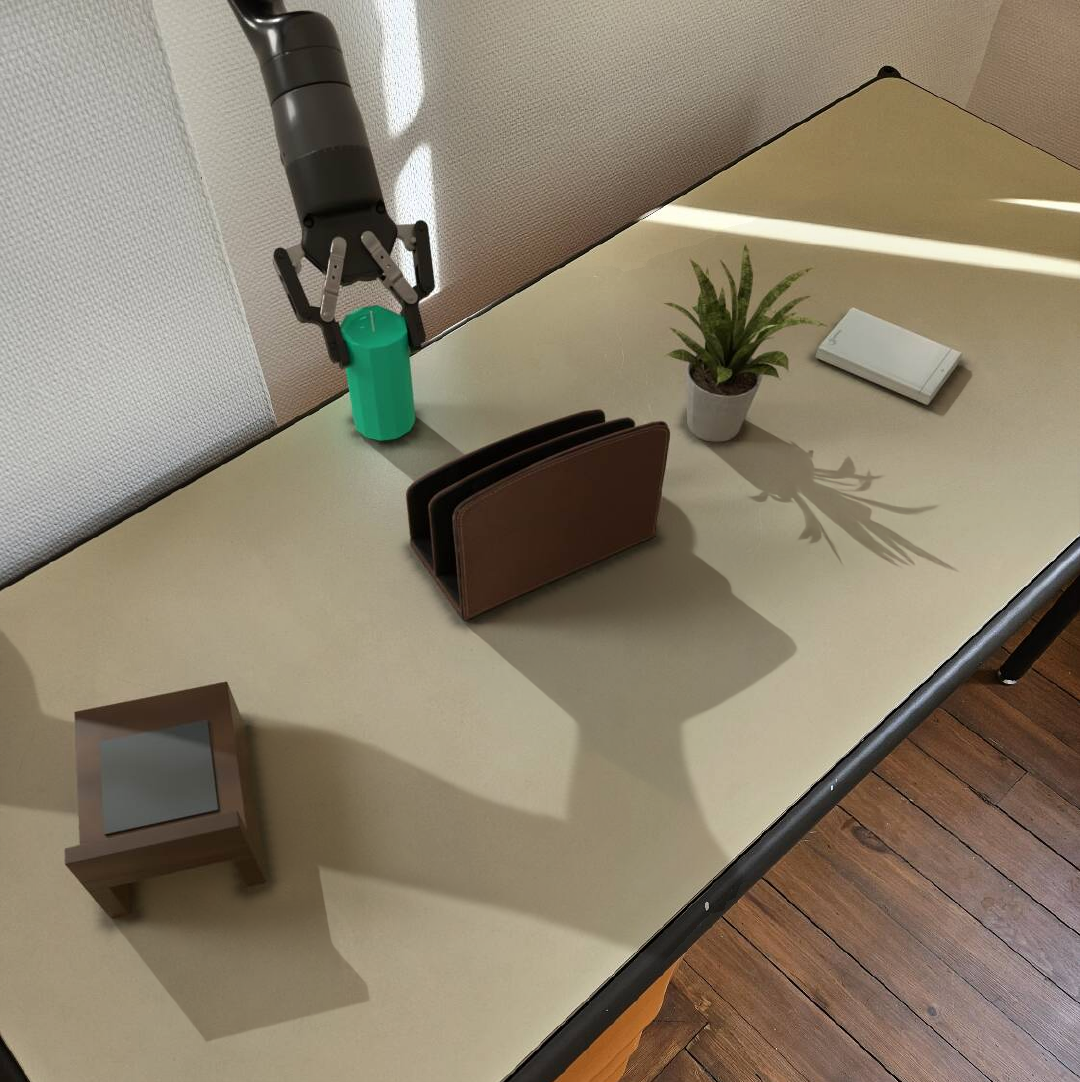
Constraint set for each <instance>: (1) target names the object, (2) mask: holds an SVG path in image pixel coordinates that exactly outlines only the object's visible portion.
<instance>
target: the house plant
mask: <svg viewBox="0 0 1080 1082" xmlns="http://www.w3.org/2000/svg"><path fill="white" fill-rule="evenodd" d="M741 259H742V260H741V272H740V282H739V288H738V290H737V285H736V282H735V279H734V278H733V276H732V274H731V271H729V268H728V267H727V265H726V264H725V263H724V262H723V261H722V260H721V259H719V262H720V263H721V266H722V268H723V270H724V273H725V275H726V278H727V280H728V283H729V286H730V295H731V296H730V297H731V298H730V299H731V313H730V311H729V310H728V308H727V301H726V292H725V289H724V286H722V287H721V290H720V292H719V296H718V295H717V292H716V289H715V286H714V284H713V283H712V281H711V280H710V272H709V268H708V267H706V271H705V272H704V271H703V269H702V267H701V266H700V265H699V264H698V263H696V262H695V261H694V260H693V259H691V258H690V259H689V260H690V263H691V265H692V268H693V271H694V273H695V276H696V279H697V282H698V285H699V289H700V290H699V294H698V297H697V305H693V306H691V307H692V310H693V311H694V312H695V313H696V314H697V316H698V320H699V321H698V320H697V318H696V317H695V316H694V315H693V314H692V313H691V312H690V311H688V309H686V308H684V307H682V306H680V305H678V304H676V303H673V302H663V304H664V305H666V306H669V307H671V308H674V309H676V310H677V311H679V312H681V313H682V314H683V315H685V316H686V317H687V318H689V319H690V321H692V322H693V324H694V325H695V326H696V327H697V328H698V329H699V330H700V332H701V333H702V336H703V339H704V347H703V346H702V345H701V344H699V343H698V342H697V341H695V340H694V339H693V338H691V337H690V336H689V335H687V334H686V333H684V332H682V331H681V330H678V329H675V328H673V327H670V326H669V327H667V328H669V329H670V330H671V331H672V333H674V334H675V335H676V336H678V337H679V338H680V339H681V341H682V342H683V343H684V344H685V346H686V347H687V348H689V350H691V351H692V352H694V353H695V354H693V353H692V352H690V351H689V350H686V349H683V348H681V349H679V348H678V349H675V350H673V351H671V352H669V353H667V354H665V357H667V356H668V357H670V358H674V359H675V360H679V361H682V362H686V363H687V364H686V366H685V367H686V370H685V374H686V375H685V376H686V377H685V378H686V379H685V380H686V417H687V418H686V420H687V422H686V423H687V427H688V429H689V431H690V432H691V433H692V434H693V435H694V436H695V437H697V438H698V439H701V440H702V441H707V442H715V443H716V442H717V443H719V442H726V441H731V440H732V439H733V438H735V437H736V436H737V434H739V432H740V430H741V426H742V425H743V423H744V421H745V419H746V416H747V414H748V412H749V410H750V407H751V405H752V403H753V401H754V398H755V397H756V394H757V391H758V390H759V387H760V385H761V382H762V380H763V376H771V377H774V378H777V379H778V380H780V382H781V381H782V380H781V378H780V375H779V373H778V369H777V368H776V367H774V366H778V367H783V368H784V369H785V370H787V371H786V372H789V357H788V356H787V354H786V353H785V352H784V351H780V350H773V351H767V352H764V353H762V354H760V355H758V356H757V357H755V358H753V356H754V355H755V353H756V351H757V350H758V348H759V347H760V345H761V344H762V343H763V342H764V341H766V340H770V339H774V338H775V336H773V337H770V336H771V335H773V334H775V333H776V332H778V331H781V330H783V329H784V328H789V327H793V326H798V325H807V324H808V325H813V326H817V327H827V328H829V326H828V325H827V324H824V323H823V322H821V321H818V320H816V319H812V318H809V317H794V316H795V315H796V314H797V312H792V313H788V312H790V311H791V310H792V309H793V308H794V307H796V306H797V305H798V304H799V303H801V302H803V301H805V300H808V299H809V298H810V297H811V295H807V296H806V295H805V296H801V297H798V298H797V297H796V298H794V299H793V300H791V301H789V302H787V303H786V304H785V305H784V306H782V308H780V309H779V310H778V311H776V310H775V308H774V307H772V306H773V304H774V303H775V302H777V300H778V299H779V298H780V297H781V296H782V295H783V294H784V293H785V292H786V291H787V290H789V288H791V287H792V285H793V284H795V282H796V281H797V280H798V279H800V278H801V277H803V276H804V275H806V274H809V272H811V271H812V270H813V269H814V267H810V268H805V269H802V270H799V271H797V272H794V273H792V274H790V275H788V276H786V277H785V278H783V279H782V280H781V281H780V282H778V283H777V284H776V285H775V286H774V287H773V288H772V289H770V290H769V292H767V294H766V295H765V296H764V297H763V298H762V299H761V300H760V302H759V303H758V304H759V305H758V306H757V308H756V310H755V311H754V313H753V315H752V316H751V318H750V319H749V321H748V323H747V317H748V316H747V315H748V310H749V307H750V302H751V296H752V290H753V281H754V270H753V266H752V262H751V256H750V250H749V248H748V246H747V243H744V246H743V250H742V257H741ZM767 311H769V312H771V313H774V315H773V316H772V317H770V316H768V315H765V314H766V313H767ZM792 317H793V318H792ZM755 337H756V338H755ZM754 338H755V339H754ZM753 339H754V341H752V340H753Z"/></svg>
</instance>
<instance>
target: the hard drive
mask: <svg viewBox="0 0 1080 1082" xmlns="http://www.w3.org/2000/svg"><path fill="white" fill-rule="evenodd" d="M815 353H816V354H815V358H816V359H819V360H821V361H823V362H825V363H827V364H830V365H833V366H835V367H837V368H839V369H841V370H844V371H846V372H848V373H851V374H853V375H855V376H858V377H860V378H863V379H865V380H868V381H869V382H872V383H874V384H877V385H879V386H881V387H884V388H887V389H888V390H890V391H893V392H895V393H898V394H900V395H902V396H904V397H908V398H909V399H912V400H914V401H916V402H919V403H920V404H924V405H926V406H928V405H929V404H930V403H931V401H932V400H933V399H934V397H936V395H937V393H938V392H939V391H940V390H941V388H942V386H943V385H944V384H945V382H946V381H947V380H948V378H949V377H950V375H951V374H952V373H953V372H954V371H955V369H956V368H957V366H958V364H959V363H960V361H961V359H962V356H963V352H961V351H959V350H956V349H954V348H951V347H949V346H947V345H944V344H942V343H939V342H938V341H934V340H933V339H930V338H927V337H925V336H923V335H920V334H918V333H916V332H913V331H911V330H909V329H906V328H904V327H901V326H899V325H897V324H894V323H891V322H889V321H886V320H884V319H882V318H880V317H877V316H875V315H874V314H873V315H872V314H870V313H868V312H866V311H863V310H861V309H858V308H855V307H851V308H850V309H849V310H848V311H847V313H846V314H845V315H844V316H843V318H842V319H840V321H838V323H837V325H836V326H835V327H834V328H833V329H832V330H831V332H829V334H828V335H827V336H826V337H825V339H824V340H823V341H822V343H821V344H820V345H819V346H818V348H817V351H816V352H815Z"/></svg>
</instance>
